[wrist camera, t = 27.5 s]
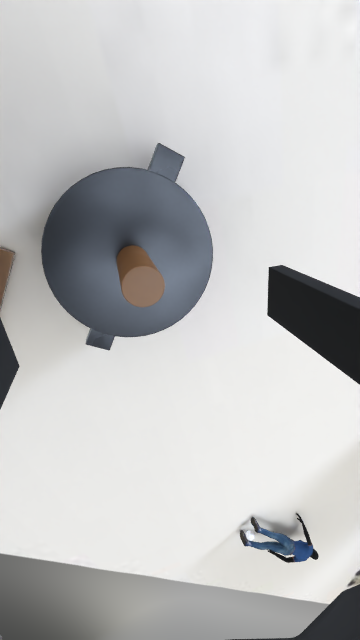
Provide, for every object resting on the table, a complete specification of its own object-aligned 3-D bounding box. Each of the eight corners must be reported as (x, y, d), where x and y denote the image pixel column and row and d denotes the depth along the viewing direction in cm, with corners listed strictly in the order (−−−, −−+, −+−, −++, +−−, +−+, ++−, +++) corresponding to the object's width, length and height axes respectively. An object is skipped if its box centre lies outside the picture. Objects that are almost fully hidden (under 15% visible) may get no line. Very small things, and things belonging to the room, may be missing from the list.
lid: (24, 305, 26) (-9, 354, 18) (73, 131, 22) (57, 100, 14) (172, 348, 31) (195, 399, 24) (234, 213, 27) (286, 223, 20)
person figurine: (225, 533, 60) (293, 555, 65) (231, 558, 56) (303, 579, 60) (256, 496, 57) (324, 521, 62) (265, 519, 53) (337, 544, 58)
